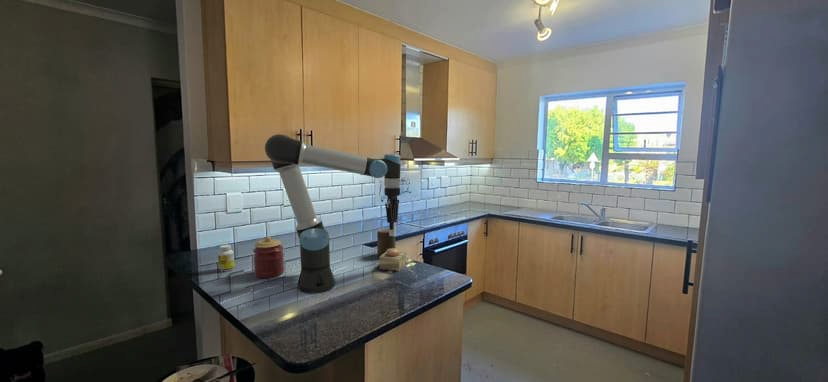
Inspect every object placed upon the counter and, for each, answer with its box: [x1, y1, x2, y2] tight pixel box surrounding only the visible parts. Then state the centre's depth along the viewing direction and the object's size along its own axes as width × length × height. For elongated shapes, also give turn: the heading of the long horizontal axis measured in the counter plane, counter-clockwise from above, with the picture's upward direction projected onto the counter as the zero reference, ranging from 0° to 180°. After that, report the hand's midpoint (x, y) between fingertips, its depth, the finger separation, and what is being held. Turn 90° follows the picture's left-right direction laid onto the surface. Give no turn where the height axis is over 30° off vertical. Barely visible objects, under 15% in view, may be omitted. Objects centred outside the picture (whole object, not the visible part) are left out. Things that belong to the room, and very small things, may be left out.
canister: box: [252, 235, 285, 279], centre depth 160 cm, size 13×13×18 cm
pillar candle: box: [376, 228, 396, 258], centre depth 187 cm, size 10×10×15 cm
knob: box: [386, 247, 401, 257], centre depth 169 cm, size 6×6×8 cm
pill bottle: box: [217, 244, 235, 272], centre depth 165 cm, size 6×6×12 cm
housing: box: [378, 251, 407, 272], centre depth 169 cm, size 10×10×6 cm
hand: (392, 235), depth 167 cm, fingers closed
